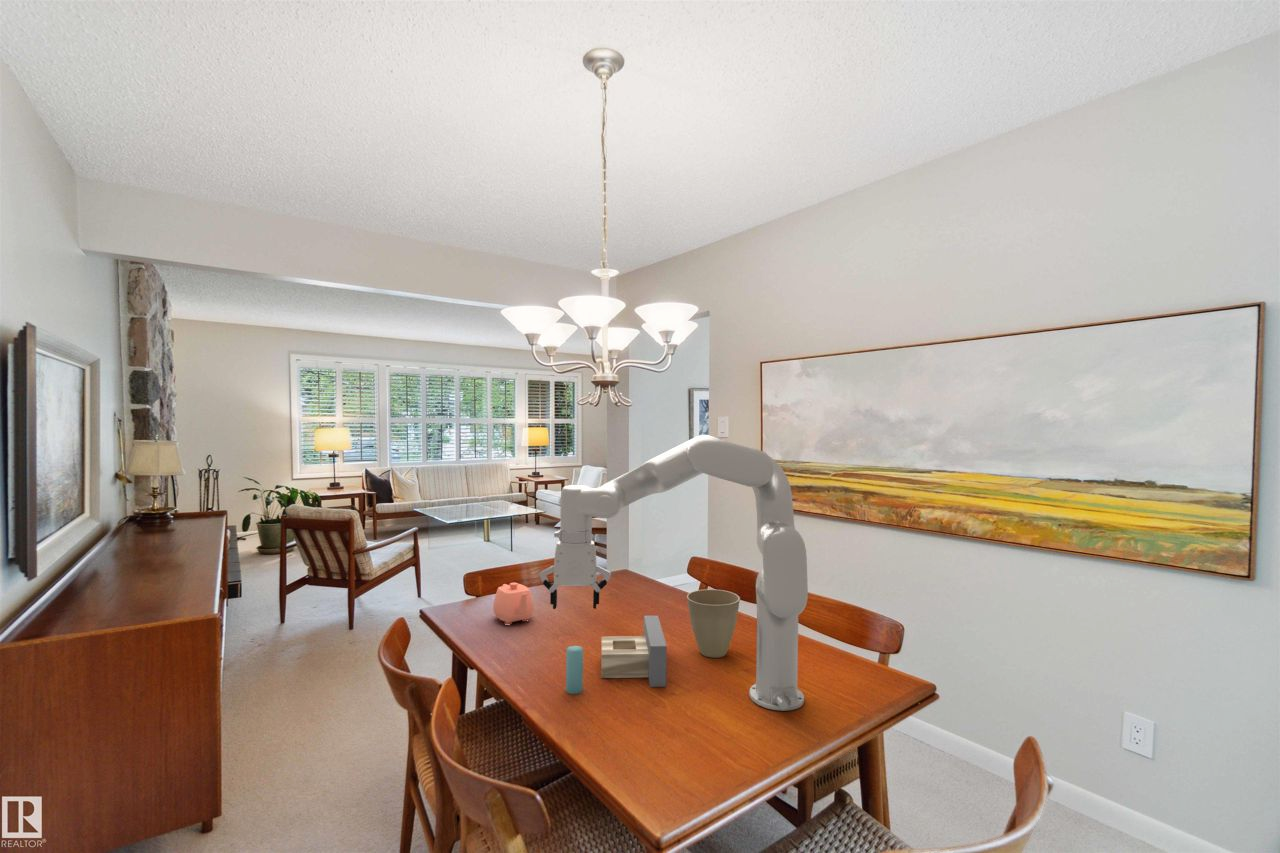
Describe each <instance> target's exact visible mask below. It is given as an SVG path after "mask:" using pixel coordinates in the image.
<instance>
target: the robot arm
mask: <svg viewBox="0 0 1280 853" xmlns="http://www.w3.org/2000/svg"><path fill="white" fill-rule="evenodd" d="M702 474H705V475H707V476H711V477H714V478H717V479H721V480H724V481H728V482H731V483H735V484H739V485H742V486H745V487H750V488H752V490H753V493H754V497H755V509H756V544H757V548H758V549H759V552H760V554H761V556H762V567H761V569H760V571H758V574H757V575H756V576H757V577H756V579H755V580H756V582H755V596H756V598H755V600H756V656H755V658H756V660H755V661H756V662H755V663H756V665H755V666H756V669H755V670H756V671H755V674H756V676H755V684H753V685H751V686H750V688H749V691H748V693H749V697H750V699H751V701H752V702H753V703H755V704H756V705H758V706H760V707H763V708H765V709H768V710H773V711H781V712H784V711H785V712H787V711H794V710H797V709H800V708H801V707H802V706H803V705H804V703H805V695H804V693H803V692H802V691H801V690H800V689H798V667H799V666H798V660H799V659H798V657H799V656H798V655H799V654H798V653H799V652H798V650H799V648H798V647H799V646H798V645H799V615H800V614H802V612H803V611H804V610H805V608H806V606H807V603H808V598H809V597H808V596H809V589H808V588H809V587H808V586H809V585H808V583H809V582H808V559H807V558H808V557H807V548H806V543H805V541H804V539H803V537H802V535H801V534H800V532H798V530H797V529H796V526H795V517H794V507H793V506H794V505H793V493H792V488H791V485H790V481H789V479H788V477H787V475H786V472H785V471H784V469H783V468H782V467H781V466H780V465H779V463H778V462H777V461H776V460H775V459H774V458H772V457H771V456H770V455H769V454H768V453H767V452H765V451H762V450H760V449H758V448H754V447H748V446H745V445H741V444H737V443H733V442H729V441H726V440H723V439H720V438H717V437H715V436H712V435H708V434H700V435H697V436H694V437H693V438H691V439H689V440H686V441H685V442H682V443H681V444H679V445H677V446H675V447H673V448H671V449H669V450H667V451H665V452H662V453H661V454H659V455H656V456H654V457H653V458H651V459H649V460H647V461H645V462H644V463H643V464H641V465H639V466H638V467H636V468H634V469H632V470H630V471H628V472H625V473H624V474H622V475H620V476H618V477H616V478H614V479H612V480H609V481H607V482H606V483H604V484H603V485H600V486H599V487H590V486H588V485H583V484H570V485H565V486H563V487H562V489H561V492H560V525H559V526H560V527H559V528H560V529H559V530H557V531H554V534H553V538H557V539H559V541H558V542H557V543H556V547H555V552H554V562H553V563H554V564H553V565H550V566H549V567H547V568H545V569H543V570H542V571H540V572H539V574H538V577H539V579H541V580H540V581H541V582H542V585H543V586H544V587H545V588H546V589H547V590H548V591H549V593H550V597H549V598H550V600H549V602H550V604H549V605H552V609H553V610H555V609H556V608H557V606H558V589H557V588H558V587H559V586H560V587H561V586H563V587H567V586H568V587H573V586H574V587H576V586H578V587H579V586H580V587H584V586H585V587H586V586H591V588H593V594H592V595H593V600H592V601H593V604H592V605H593V607H592V608H593V609H594V610H597V605H600V593H601V590H602V589H604V587H605V586H606V585H607V584H608V582H609V580H610V578H611V577H612V572H611V571H610V570H608V569H606V568H603V567H602V566H599V565H598V564H597V551H596V546H595V545H596V544H595V541H594V540H592V531H593V530H592V529H593V528H592V526H593V524H592V522H593V521H592V520H593V517H595V518H600V519H612V518H614V517H616V516H617V515H618V514H619V513H620V512H621V510H622V509H624V508H625V507H627V506H629V505H631V504H633V503H635V502H637V501H638V500H641V499H643V498H645V497H648V496H650V495H656V494H663V493H665V492H668V491H670V490H672V489H674V488H676V487H678V486H680V485H682V484H684V483H686V482H688V481H690V480H692V479H694V478H697V477H698V476H700V475H702ZM550 574H553V582H551V581H550V579H548V576H549V575H550ZM597 574H600V575H602V576H603V578H602V579H601V580H600V581H599V582H598V581H597Z"/></svg>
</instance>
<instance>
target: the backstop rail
mask: <svg viewBox="0 0 1280 853" xmlns="http://www.w3.org/2000/svg"><path fill="white" fill-rule="evenodd" d="M643 636H645V638H646V643H647V648H648V653H649V668H648V677H647V678H648V684H649V687H650V688H652V687H653V688H654V687H655V688H656V687H657V688H658V687H659V688H660V687H662V688H663V687H665V688H666V687H667V659H668V658H667V656H668V654H667V653H668V652H667V649H668V648H667V643H666V639H665V636H664V632H663V629H662V626H661V621H660V618H659V615H643Z"/></svg>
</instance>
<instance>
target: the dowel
mask: <svg viewBox="0 0 1280 853" xmlns="http://www.w3.org/2000/svg"><path fill="white" fill-rule="evenodd" d="M565 652H566V654H565V655H566V658H565V659H566V662H565V666H566V669H565V671H566V672H565V675H566V676H565V693H567V694H570V695H579V694H581V693H583V690H584V688H583V686H584V684H583V683H584V680H583V679H584V677H583V675H584V648H583V647H582V646H579V645H571V646H568V647H566V651H565Z"/></svg>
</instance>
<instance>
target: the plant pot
mask: <svg viewBox="0 0 1280 853" xmlns="http://www.w3.org/2000/svg"><path fill="white" fill-rule="evenodd" d="M686 599H687V601H686V602H687V608H688V614H689V619H690V623H691V627H692V630H693V635H694V637H695V641H696V643H697V647H698V649H699V653H700V654H701V655H702V656H704V657H708V658H712V659H713V658H715V659H716V658H722V657H724V656H726V655H727V653H728V650H729V648H730V645H731V642H732V640H733V639H732V638H733V636H734V633H735V632H734V631H735V628H736V624H737V619H738V614H739V608H740V601H741V600H740V599H741V597H740V596H739V595H738V594H736V593H734V592H732V591H728V590H723V589H713V588H712V589H710V588H709V589H708V588H707V589H705V588H704V589H697V590H694V591H691V592H689V593H688V594H687V595H686Z"/></svg>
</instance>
